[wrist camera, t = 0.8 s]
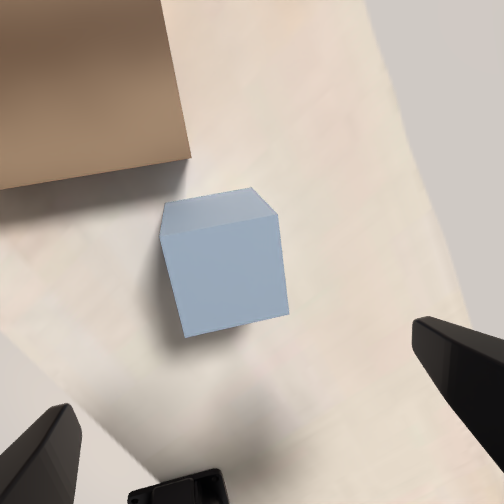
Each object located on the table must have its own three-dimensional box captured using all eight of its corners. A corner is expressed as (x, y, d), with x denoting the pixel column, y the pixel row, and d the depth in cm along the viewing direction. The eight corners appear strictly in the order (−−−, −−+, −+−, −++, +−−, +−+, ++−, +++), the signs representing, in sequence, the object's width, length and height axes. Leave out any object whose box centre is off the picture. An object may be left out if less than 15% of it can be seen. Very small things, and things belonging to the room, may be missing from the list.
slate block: (262, 264, 20) (289, 314, 15) (183, 280, 20) (184, 337, 15) (251, 187, 19) (277, 214, 14) (165, 202, 18) (159, 236, 13)
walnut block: (190, 151, 18) (191, 158, 15) (-1, 182, 17) (-37, 195, 14) (144, -77, 14) (135, -123, 12) (-99, -56, 13) (-172, -100, 11)
